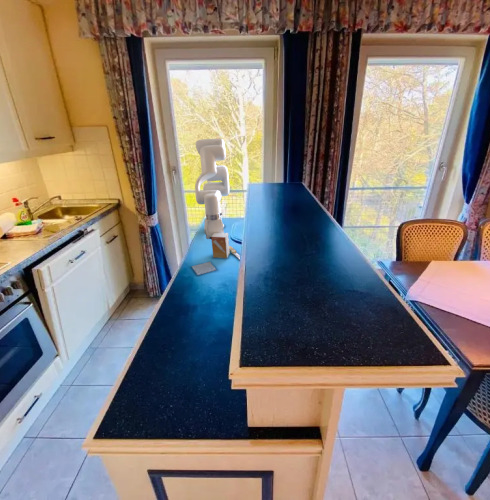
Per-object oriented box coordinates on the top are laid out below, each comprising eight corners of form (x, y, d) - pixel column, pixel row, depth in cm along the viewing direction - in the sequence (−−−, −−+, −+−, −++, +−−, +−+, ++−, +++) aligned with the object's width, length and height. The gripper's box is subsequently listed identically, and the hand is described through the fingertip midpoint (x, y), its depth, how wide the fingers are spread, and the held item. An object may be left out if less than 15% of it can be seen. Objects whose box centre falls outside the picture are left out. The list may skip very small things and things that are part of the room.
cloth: (191, 267, 148) (191, 266, 148) (209, 262, 152) (209, 261, 152) (197, 275, 140) (197, 274, 140) (216, 270, 144) (216, 269, 144)
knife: (227, 249, 166) (227, 246, 165) (230, 248, 167) (230, 245, 166) (239, 260, 152) (239, 258, 152) (243, 259, 153) (243, 257, 153)
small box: (213, 258, 156) (210, 236, 151) (216, 252, 162) (214, 232, 156) (227, 258, 155) (225, 237, 149) (229, 253, 161) (228, 232, 155)
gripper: (222, 212, 160) (225, 241, 168) (197, 216, 154) (201, 246, 162) (228, 215, 154) (230, 245, 162) (202, 220, 148) (205, 251, 156)
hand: (215, 246), depth 162 cm, fingers closed
